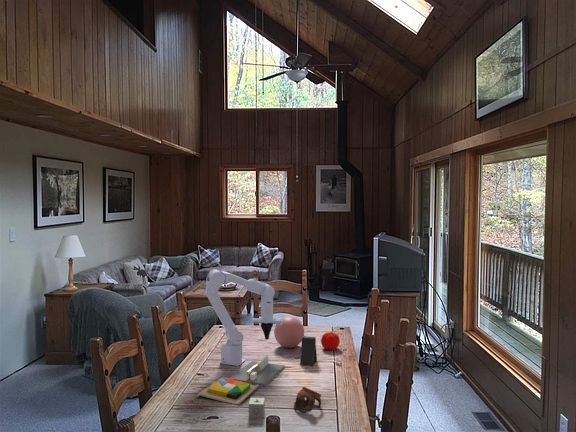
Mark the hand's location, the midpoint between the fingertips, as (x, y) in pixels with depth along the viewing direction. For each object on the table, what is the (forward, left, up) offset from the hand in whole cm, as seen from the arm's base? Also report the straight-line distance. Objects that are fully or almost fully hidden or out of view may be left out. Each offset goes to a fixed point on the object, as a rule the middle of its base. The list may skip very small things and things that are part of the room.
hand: (267, 338), depth 213 cm
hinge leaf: (+4, -24, -8) cm, 25 cm away
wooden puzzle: (+1, -40, -10) cm, 41 cm away
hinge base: (+4, -19, -9) cm, 22 cm away
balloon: (+3, +22, -10) cm, 24 cm away
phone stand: (+20, +2, -10) cm, 22 cm away
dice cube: (+19, -53, -10) cm, 57 cm away
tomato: (+24, +25, -10) cm, 36 cm away
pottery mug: (+34, -43, -10) cm, 56 cm away
